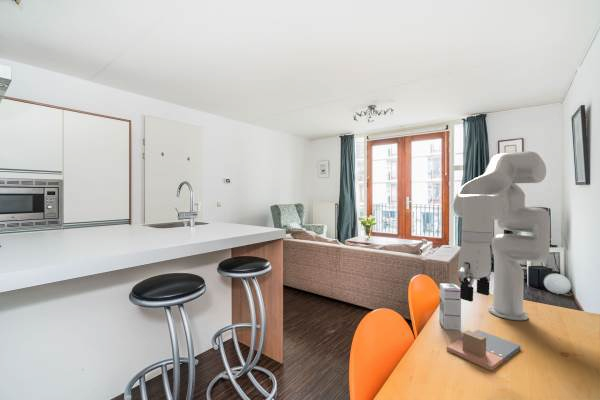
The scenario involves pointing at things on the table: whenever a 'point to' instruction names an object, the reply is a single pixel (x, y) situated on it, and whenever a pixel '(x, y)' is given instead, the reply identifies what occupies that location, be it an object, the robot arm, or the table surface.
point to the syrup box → (450, 306)
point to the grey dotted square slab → (499, 345)
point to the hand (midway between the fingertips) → (474, 296)
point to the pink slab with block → (475, 350)
